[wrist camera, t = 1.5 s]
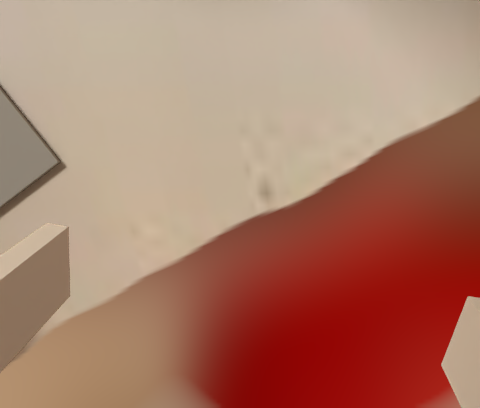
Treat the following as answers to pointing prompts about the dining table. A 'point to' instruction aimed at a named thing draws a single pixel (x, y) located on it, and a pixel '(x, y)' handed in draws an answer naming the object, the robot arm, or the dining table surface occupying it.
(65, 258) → the robot arm
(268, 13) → the dining table surface
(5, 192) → the mat
